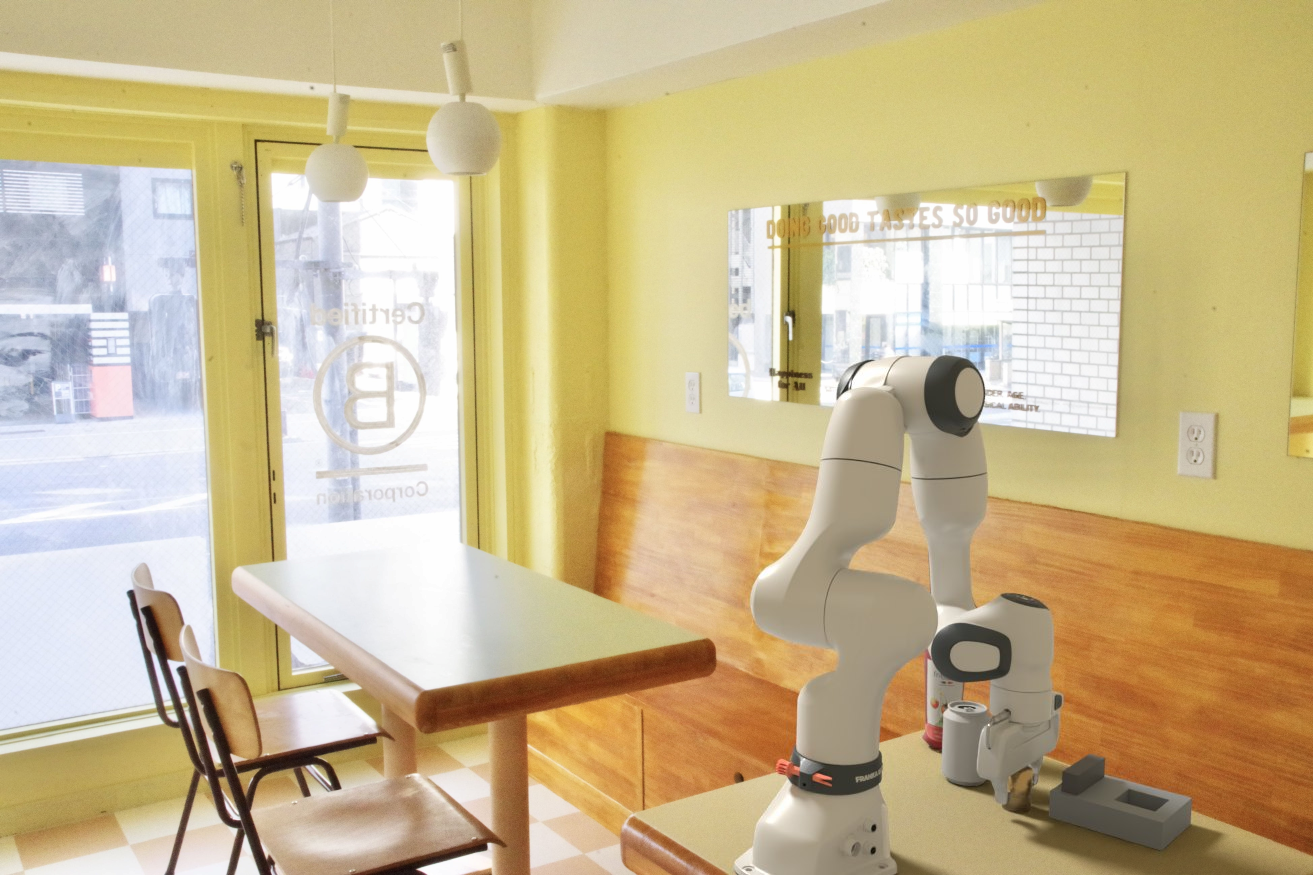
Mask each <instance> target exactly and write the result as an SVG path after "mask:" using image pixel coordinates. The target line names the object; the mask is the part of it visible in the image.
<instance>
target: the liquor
mask: <svg viewBox="0 0 1313 875" xmlns="http://www.w3.org/2000/svg"><path fill="white" fill-rule="evenodd" d="M923 654H924V659H923V660H924V661H923V662H924V663H923V664H924V665H923V667H924V695H925V696H924V698H925V700H924V702H925V705H924V706H925V708H924V709H925V712H924V714H925V715H924V716H925V718H924V719H925V720H924V733H923V735H922V737H921V738H922V739H923V741H924V742H925V743H926V744H927V745H928V746H929V747H930V748H931V749H934V750H937V751H942V740H943V713H944V712H945V711H946V710H947V709H948V704H949V703H950V702H953V701H964V692H965V683H962V682H956V681H952V680H950V679H948V678H946V677H945V676H943V675H942V674H941V673H940V672H939V671H938V670H937V669H936V667H935V665H934V663H933V661H932V659H931V656H930V654H929V652H928V650H927V649H926V650H925V651H924V652H923Z"/></svg>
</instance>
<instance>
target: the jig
mask: <svg viewBox="0 0 1313 875" xmlns="http://www.w3.org/2000/svg"><path fill="white" fill-rule="evenodd" d="M1105 770H1106V757H1105V756H1100V755H1095V754H1092V753H1088V754H1087V755H1086V756H1083V757H1082V758H1081V759H1079V760H1077V761H1075V763H1072V764H1071V765H1070V766H1068V767H1067V768H1065V769H1064V770H1062V772H1061V783H1060V784H1057V785H1056V786H1055V787H1052V789H1049V804H1048V805H1049V806H1048V818H1050V819H1054V820H1057V821H1061V822H1064V823H1067V824H1071V825H1074V826H1077V827H1081V828H1084V829H1087V830H1091V831H1094V832H1097V833H1100V834H1103V835H1108V836H1110V837H1114V838H1117V839H1120V840H1124V841H1128V842H1131V843H1134V844H1138V845H1139V846H1140V845H1141V846H1144V847H1147V848H1150V849H1153V850H1158V851H1163V850H1165V848H1166V847H1168V846H1169V845H1170V844H1171V843H1172V842H1174V840H1176V838H1177V837H1178V836H1180V835H1181V834H1182V833H1183V832H1184V831H1185V830H1186V829H1188V828H1189V827H1190V826H1191V825H1192V824H1191V823H1192V805H1193V803H1192V802H1193V797H1189V796H1187V795H1183V794H1179V793H1175V792H1171V791H1168V790H1165V789H1164V790H1163V789H1160V788H1157V787H1152V786H1149V785H1145V784H1141V783H1137V782H1133V781H1130V780H1126V779H1123V778H1118V777H1116V776H1111V775H1107V774H1105V773H1106V772H1105Z"/></svg>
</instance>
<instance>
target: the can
mask: <svg viewBox="0 0 1313 875" xmlns="http://www.w3.org/2000/svg"><path fill="white" fill-rule="evenodd" d="M988 711H989V707H988V706H987V705H985V704H982V703H981V702H975V701H970V700H963V701H953V702H950V703H949V704H948V709H947V710H946V711H945V712H944V713H943V740H942V750H941V767H940V768H941V769H940V770H941V774H942V775H943V776H944V777H945V778H946V780H947V781H948V782H951V783H953V784H956V785H959V786H964V787H965V786H966V787H975V786H981V785H982V784H984V783H985V782H986V781H989V780H988V779H984V778H981V777H980V776H979V774H978V772H977V758H978V748H979V741H980V735H981V732H982V729H983V728H984V726H986V725H987V724H989V723H990V718H991V717H992V716H991V715H990V712H988Z"/></svg>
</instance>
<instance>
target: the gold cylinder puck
mask: <svg viewBox="0 0 1313 875" xmlns="http://www.w3.org/2000/svg"><path fill="white" fill-rule="evenodd" d="M1032 779H1033V769H1032V768H1030V767H1028V766H1026V767H1024V768H1023V769H1021V770H1019V771H1018V772H1016V773H1014V774H1013V775H1011V776H1009V782H1007V787H1008V790H1009V791H1011V795H1010V801H1009V802H1008V803H1006V804H1004V805H1003V804H1001V808H1003V809H1004V810H1005V811H1007V812H1010V813H1013V814H1027V813H1030V812H1032V801H1033V800H1032V799H1033V786H1032Z"/></svg>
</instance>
